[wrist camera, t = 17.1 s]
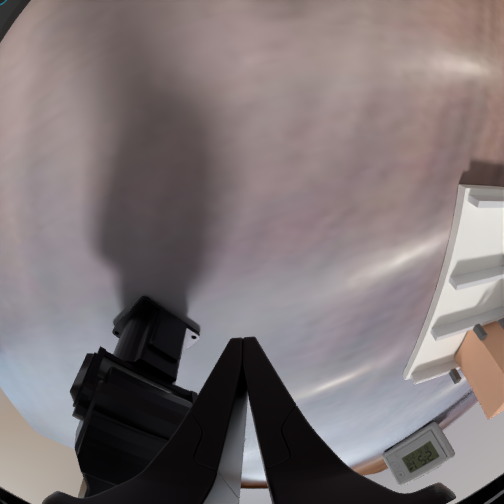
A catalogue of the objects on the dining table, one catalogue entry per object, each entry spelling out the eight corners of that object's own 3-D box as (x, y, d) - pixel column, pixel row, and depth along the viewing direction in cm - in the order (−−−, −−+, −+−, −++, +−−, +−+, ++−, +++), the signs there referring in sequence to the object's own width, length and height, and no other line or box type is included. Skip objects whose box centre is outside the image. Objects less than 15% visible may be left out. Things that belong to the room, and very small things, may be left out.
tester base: (402, 374, 31) (415, 403, 27) (458, 184, 19) (496, 205, 15) (486, 344, 31) (501, 366, 26) (542, 190, 19) (569, 207, 14)
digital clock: (436, 417, 42) (452, 456, 33) (445, 421, 45) (459, 456, 36) (374, 452, 47) (384, 490, 38) (390, 454, 50) (399, 488, 41)
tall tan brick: (454, 358, 29) (488, 419, 19) (470, 326, 26) (513, 390, 16) (477, 349, 29) (511, 404, 19) (494, 317, 26) (536, 375, 16)
